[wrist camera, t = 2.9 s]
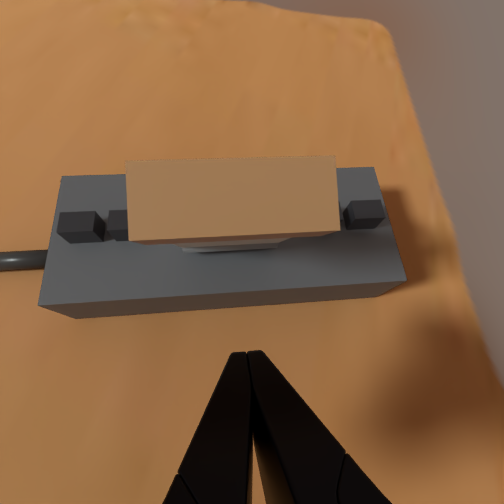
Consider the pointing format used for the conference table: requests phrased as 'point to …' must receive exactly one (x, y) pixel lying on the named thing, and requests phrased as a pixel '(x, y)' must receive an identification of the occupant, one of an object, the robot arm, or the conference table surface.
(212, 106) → the conference table surface
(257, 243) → the lever
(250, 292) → the breaker box
